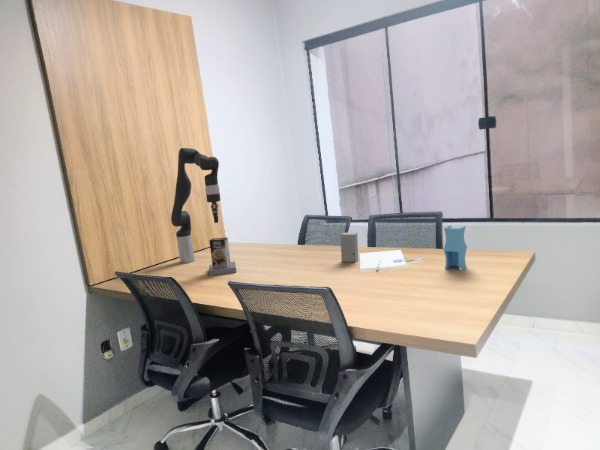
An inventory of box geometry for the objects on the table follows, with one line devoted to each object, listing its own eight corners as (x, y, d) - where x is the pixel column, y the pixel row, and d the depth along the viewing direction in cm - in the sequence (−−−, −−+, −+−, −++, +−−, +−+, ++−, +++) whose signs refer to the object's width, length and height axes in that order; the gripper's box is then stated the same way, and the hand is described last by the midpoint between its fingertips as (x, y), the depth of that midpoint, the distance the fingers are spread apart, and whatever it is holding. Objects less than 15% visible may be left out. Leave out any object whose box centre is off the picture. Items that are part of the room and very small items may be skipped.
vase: (467, 266, 200) (465, 225, 197) (460, 270, 194) (459, 228, 191) (451, 265, 205) (449, 225, 202) (444, 269, 200) (442, 228, 196)
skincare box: (341, 262, 231) (339, 234, 229) (345, 259, 238) (342, 232, 235) (356, 262, 228) (354, 234, 225) (359, 259, 234) (357, 231, 232)
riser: (210, 269, 244) (209, 264, 244) (235, 266, 247) (234, 261, 246) (209, 276, 230) (208, 271, 229) (236, 272, 232) (235, 267, 232)
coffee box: (212, 268, 235) (208, 240, 233) (216, 265, 241) (212, 238, 239) (227, 267, 234) (224, 239, 231) (231, 264, 240) (227, 236, 238)
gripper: (219, 193, 225) (223, 222, 227) (219, 191, 239) (223, 219, 241) (205, 194, 224) (209, 224, 226) (206, 193, 238) (210, 221, 240)
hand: (216, 221), depth 234 cm, fingers open, 8 cm apart
